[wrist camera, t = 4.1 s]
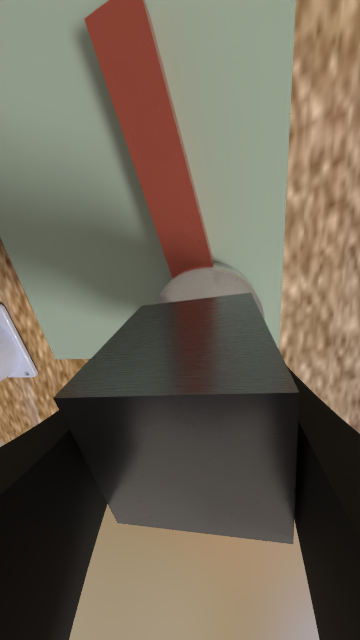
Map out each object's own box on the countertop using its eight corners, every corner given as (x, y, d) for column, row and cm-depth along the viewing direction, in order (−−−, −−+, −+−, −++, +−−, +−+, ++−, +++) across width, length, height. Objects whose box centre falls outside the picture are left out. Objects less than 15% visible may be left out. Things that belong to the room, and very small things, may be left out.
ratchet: (265, 341, 16) (286, 395, 11) (178, 356, 18) (162, 409, 13) (195, -14, 9) (166, -277, 4) (69, 72, 11) (-48, -44, 6)
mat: (58, 356, 21) (55, 359, 21) (-111, -22, 11) (-121, -30, 11) (277, 350, 17) (278, 353, 16) (305, -266, 7) (309, -291, 7)
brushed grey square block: (163, 388, 12) (117, 522, 7) (141, 305, 10) (52, 398, 5) (256, 386, 11) (293, 544, 6) (251, 292, 9) (298, 392, 4)
